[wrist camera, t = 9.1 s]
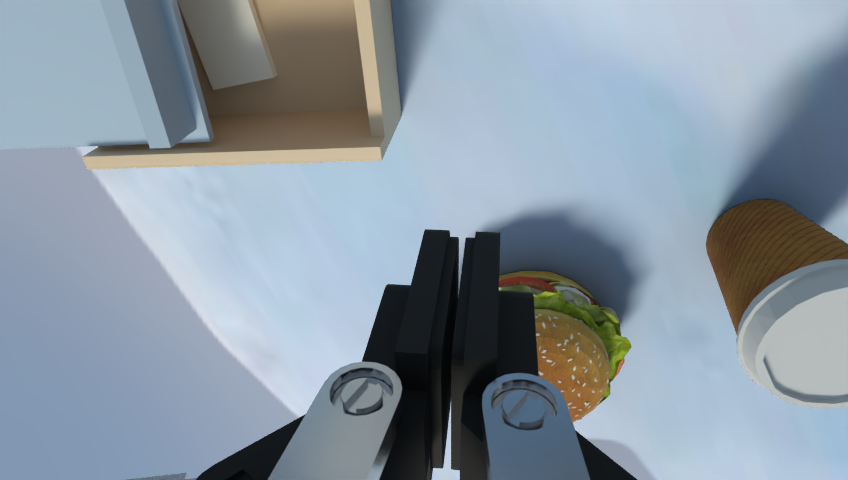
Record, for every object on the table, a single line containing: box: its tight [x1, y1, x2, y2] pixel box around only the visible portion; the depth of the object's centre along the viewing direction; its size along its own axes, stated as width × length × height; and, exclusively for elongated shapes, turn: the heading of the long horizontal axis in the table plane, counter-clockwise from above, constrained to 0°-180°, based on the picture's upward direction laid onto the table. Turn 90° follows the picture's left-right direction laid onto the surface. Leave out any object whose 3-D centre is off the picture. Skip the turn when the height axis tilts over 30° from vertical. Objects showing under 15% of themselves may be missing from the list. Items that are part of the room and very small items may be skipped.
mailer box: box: [82, 0, 402, 169], centre depth 32 cm, size 13×18×8 cm
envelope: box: [177, 0, 278, 90], centre depth 35 cm, size 7×4×1 cm, turn 12°
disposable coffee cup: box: [706, 199, 848, 409], centre depth 35 cm, size 10×10×12 cm
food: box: [499, 270, 631, 422], centre depth 43 cm, size 14×14×8 cm
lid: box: [0, 0, 214, 149], centre depth 30 cm, size 11×18×4 cm, turn 94°
